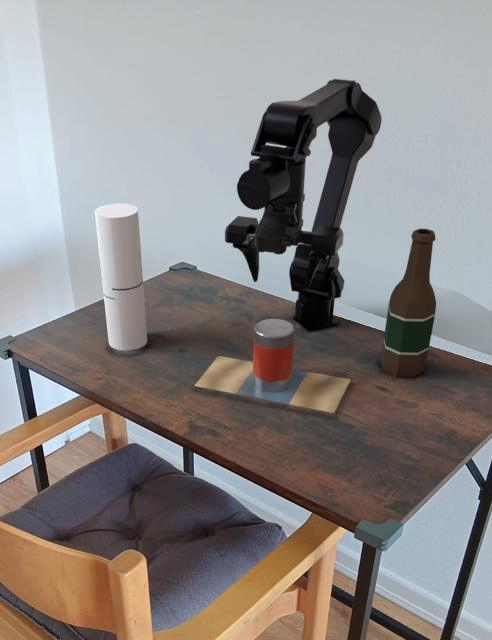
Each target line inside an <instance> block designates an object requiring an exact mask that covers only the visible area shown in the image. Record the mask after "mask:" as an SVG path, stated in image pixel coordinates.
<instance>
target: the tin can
mask: <svg viewBox="0 0 492 640" xmlns="http://www.w3.org/2000/svg"><path fill="white" fill-rule="evenodd" d="M252 341H253V343H252V344H253V346H252V347H253V348H252V362H253V384H254V386H255V387H256V388H257V389H259V390H262V391H266V392H279V391H283V390H285V389H287V388H288V387H289V386H290V385H291V375H292V369H293V361H294V360H293V359H294V344H295V343H294V342H295V327H294V325H293V324H292V323H291V322H289V321H287V320H284V319H281V318H267V319H263V320H260V321H258V322H256V324H255V325H254V326H253V339H252Z"/></svg>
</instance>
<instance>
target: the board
mask: <svg viewBox="0 0 492 640" xmlns="http://www.w3.org/2000/svg"><path fill="white" fill-rule="evenodd" d="M351 380H352V379H350V378H345V377H339V376H334V375H328V374H327V375H326V374H323V373H318V372H317V373H316V372H311V371H306V370H301V369H300V370H299V369H296V368H295V369H294V368H292V375H291V385H290V386H289V387H288V388H287V389H285V390H283V391H279V392H266V391H262V390H259V389H257V388H256V387H255V386H254V384H253V361H251V360H250V361H249V360H244V359H239V358H233V357H228V356H221V355H218V356H217V357H216V358H215V359H214V360H213V362H212V363H211V364H210V365H209V367H207V369H206V370H205V372H204V373H202V375H201V376H200V378H199V379H198V381H197V382H196V383H195V384H194V387H198V388H202V389H208V390H214V391H219V392H224V393H228V394H234V395H238V396H239V395H240V396H244V397H250V398H254V399H260V400H266V401H271V402H275V403H280V404H285V405H291V406H295V407H301V408H306V409H311V410H317V411H321V412H326V413H332V414H335V413H336V411H337V409H338V407H339V405H340V402H341V400H342V399H343V396H344V395H345V392H346V391H347V389H348V387H349V384H350V383H351Z"/></svg>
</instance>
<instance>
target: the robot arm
mask: <svg viewBox="0 0 492 640" xmlns="http://www.w3.org/2000/svg"><path fill="white" fill-rule="evenodd" d="M325 123H326V124H327V125H328V127H329V128H328V133H327V138H328V142H329V145H330V149H331V157H330V161H329V165H328V169H327V172H326V176H325V178H324V179H325V180H324V184H323V186H322V191H321V194H320V198H319V201H318V205H317V208H316V209H317V210H316V213H315V217H314V220H313V225H312V227H311V231H308V230H302V229H303V227H304V219H303V213H304V202H305V199H306V194H305V179H306V177H305V176H306V161H307V157H309V156H310V155H312V151H311V150H310V146H311V144H312V142H313V141H314V140H315V139H316V138H317V133H318V130H317V129H318V128H319V127H321V126H322V125H323V124H325ZM381 127H382V114H381V111H380V108H379V106H378V104H377V102H376V100H374V99H373V98H372V97H371V96H369V95H368V94H367V93H366V92H365V91H363V88H362V86H361V84H360V83H359V82H357V81H356V80H353V79H341V78H333V79H331V80H328V81H327V83H326V84H325V85H324V86H321V87H320V88H318V89H315V90H314V91H313V92H311V93H309V94H307V95H305V96H304V97H302V98H301V99H298V100H281V101H275V102H272V103H270V104H269V105H268V106H267V108H266V109H265V111H264V113H263V114H262V117H261V120H260V123H259V127H258V129H257V132H256V135H255V138H254V142H253V145H252V147H251V151H250V155H251V156H252V157H257V158H253V159H251V160H249V161H248V169H247V170H246V171H244V172H242V174H241V175H240V176H239V178H238V181H237V184H236V193H237V196H238V198H239V200H240V202H241V203H242V204H243V206H245V207H246V208H248V209H249V210H253V211H258V210H262V209H264V210H263V214H262V217H261V219H260V220H258V218H257V217H252V216H251V217H250V216H243V215H241V216H240V215H237V216H236V217H235V218H234V219H233V220H232V221H231V222H230V223H229V224H228V225H226V227H225V230H224V242H225V243H227V244H231V245H232V247H233V248H234V249H237V250H239V251H240V252H241V253H242V254H243V256H244V258H245V261H246V263H247V266H248V269H249V272H250V275H251V278H252V280H253V282H254V283H257V282H258V281H259V274H260V253H272V254H275V255H283V254H284V253H286V251H287V248H291V246H293V247H294V246H295V251H294V256H293V259H292V262H291V263H290V265H289V271H288V272H289V273H288V275H289V282H290V283H289V284H290V288H291V292H297V295H298V296H297V299H296V300H295V309H294V311H295V312H294V314H293V315H292V319H293V320H294V321H295V322H296V323H298V324H299V325H300V326H301V327H302V328H304V329H305V330H306V331H308V332H311V331H316V330H319V329H320V330H321V329H324V328H328V327H334V326H336V325H338V321H337V320H336V319H334V309H335V300H336V299H340V298H341V297H342V293H343V290H344V287H345V279H344V277H343V275H342V274H341V272H340V270H339V266H340V262H341V259H340V256H339V250H340V248H341V247H342V246H343V244H344V231H343V230H342V228H341V225H342V221H343V218H344V215H345V212H346V207H347V204H348V200H349V197H350V193H351V189H352V185H353V182H354V178H355V175H356V171H357V168H358V164H359V161H361V159H362V158H364V156H365V155H366V154H367V153H368V152H369V151H370V150H371V149H372V148H373V144H374V143H375V142H374V141H375V140H376V136H377V135H378V134H379V132H380V129H381Z"/></svg>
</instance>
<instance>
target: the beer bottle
mask: <svg viewBox="0 0 492 640" xmlns="http://www.w3.org/2000/svg"><path fill="white" fill-rule="evenodd" d="M410 237H411V246H410V250H409V254H408V260H407V264H406V269H405V271H404V275H403V277H402V279H400V281H399V282H398V283H397V284H396V285H395V287H394V288H393V291H391V294H390V298H389V301H388V305H387V307H388V308H387V314H386V321H385V328H384V335H383V342H382V350H381V358H380V361H381V366H382V370H383V372H384V373H386V374H388V375H391V376H393V377H395V378H411V379H412V378H415V377H416V376H419V375H421V374H422V373H424V371H425V369H426V364H427V361H428V355H429V349H430V345H431V339H432V334H433V328H434V323H435V319H436V310H437V300H436V295H435V294H436V293H435V292H434V288H433V285H432V284H431V267H432V266H431V265H432V264H431V263H432V255H433V246H434V242H435V241H436V233H435V231H434V230H433V229H429V228H418V229H415V230H413V232H412V233H411V236H410Z"/></svg>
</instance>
